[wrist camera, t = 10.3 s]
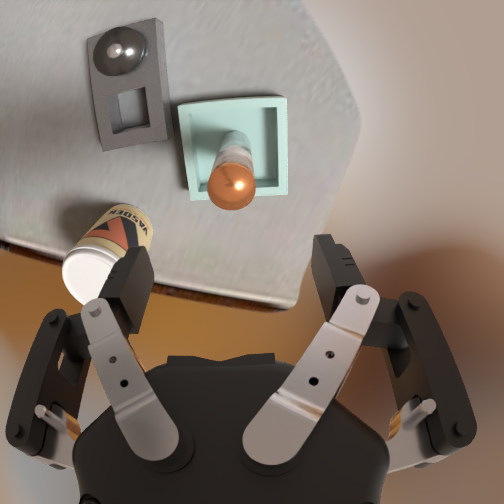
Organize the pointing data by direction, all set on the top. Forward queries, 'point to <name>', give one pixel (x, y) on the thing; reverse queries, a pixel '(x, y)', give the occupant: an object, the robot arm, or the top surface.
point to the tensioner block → (130, 82)
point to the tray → (244, 120)
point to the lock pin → (232, 173)
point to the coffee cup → (104, 249)
